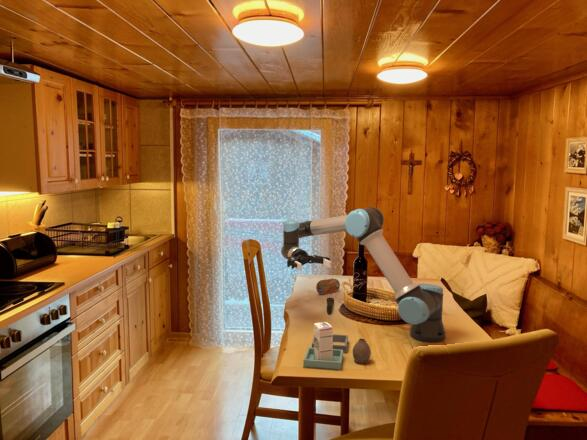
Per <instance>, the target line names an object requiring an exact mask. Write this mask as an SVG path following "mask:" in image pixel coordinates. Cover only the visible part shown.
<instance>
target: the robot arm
mask: <svg viewBox="0 0 587 440" xmlns="http://www.w3.org/2000/svg"><path fill="white" fill-rule="evenodd" d="M384 224H385V216H384V214H383V212H382V211H381V210H380V209H378V208H376V207H373V206H369V207H364V208H357V209H356V208H355V209H354V210H352V211H350V212H349V213H348V214H346V215H340V216H334V217H326V218H321V219H313V220H305V221H301V222H299V220H296V219H287V220H285V221H283V228H282V230H283V234H282V235H283V237H282V238H283V245H282V246H281V248H280V253H281V255H282V257H283V258H284V259H285V260H287V262H286V266H287V268H289V267H290V268H291V269H297V270H298V271H302V266H304V265H307V264H310V265H311V264H321V265H324V267H327V268H329V269H331V268H332V261H331V258H330V257H327V256H322V255H317V254H313V255H309V253H308V252H307V251H306V250H304V249H302V248H300V247H299V246H300V239H301V238H302V239H303V238H306V237H314V236H319V235H321V236H322V235H326V234H327V235H328V234H335V233H336V234H337V233H342V232H346V233H347V234H348V235H349V236H350V237H352V238H355V239H356V240H357V242H358V244H360V245H362V246H365V247H366V249H367V250H368V253H370V255H371V257H372V258H373V260H374V262H375V263H376V265H377V267H378V268H379V270H381V273H382V275H383V276H384V277H385V279H386V281H387V282H388V284H389V285H390V287H391V288H392V290H393V291H394V293H395V295H394V301H396V303H397V306H398V307H397V312H398V315H399V317H400V318H401V319H402V320H403V321H404V322H405V323H407V324H410V325H411V327H410V329H409V335H410V337H411V338H413V339H415V340H417V341H420V342H425V343H437V342H438V343H439V342H443V341H444V340H445V339H446V338H447V337H446V335H447V334H446V329H445V326H444V323H443V307H444V306H443V305H444V304H443V303H444V295H445V294H444V288H443V287H442V286H441V285H437V284H432V283H415V282H413V280H412V278H411V277H410V276H409V274H408V273H407V271H406V269H405V268H404V266H403V265H402V263H401V262H400V260H399V259H398V257H397V255H396V253H394V251H393V249H392V248H391V246H390V245H389V243H388V241H387V240H386V238H385V237H384V236H383V232H384V229H383V226H384Z"/></svg>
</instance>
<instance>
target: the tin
mask: <svg viewBox="0 0 587 440" xmlns="http://www.w3.org/2000/svg"><path fill="white" fill-rule="evenodd" d="M340 287H341V283H340V281H339V280H338V279H336V278H333V277H331V278H326V279H321V280H319V281H318V282H317V283H316V286H315V289H316V292H317V294H320V295H322V296H325V295H326V296H327V295H329V294H331V295H332V294H335V293H337V292H338V291H339V290H340Z"/></svg>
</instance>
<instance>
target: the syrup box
mask: <svg viewBox="0 0 587 440" xmlns="http://www.w3.org/2000/svg"><path fill="white" fill-rule="evenodd" d="M333 330H334V329H333V326H332V324H330V323H328V322H327V321H319V322H315V323H313V339H314V359H315V360H323V361H333V345H334V342H333V334H334V333H333Z"/></svg>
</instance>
